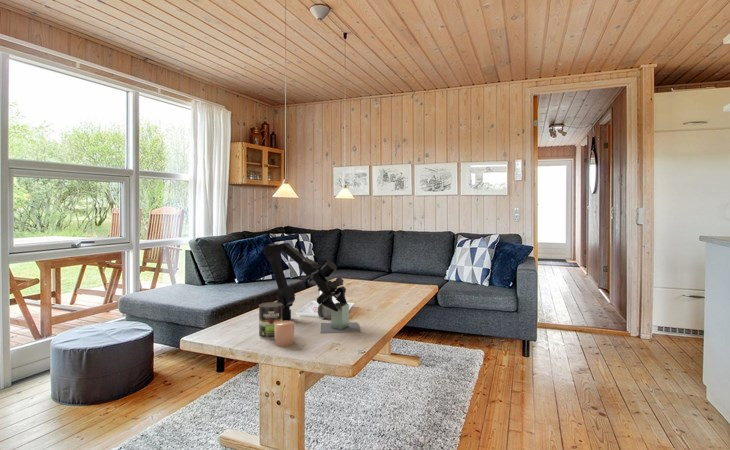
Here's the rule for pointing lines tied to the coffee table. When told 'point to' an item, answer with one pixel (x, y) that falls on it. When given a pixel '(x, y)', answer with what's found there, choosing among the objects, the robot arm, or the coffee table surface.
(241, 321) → the coffee table surface
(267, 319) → the coffee can
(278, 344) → the pink rounded cylinder
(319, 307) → the ceramic mug
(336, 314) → the tin
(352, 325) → the mat
